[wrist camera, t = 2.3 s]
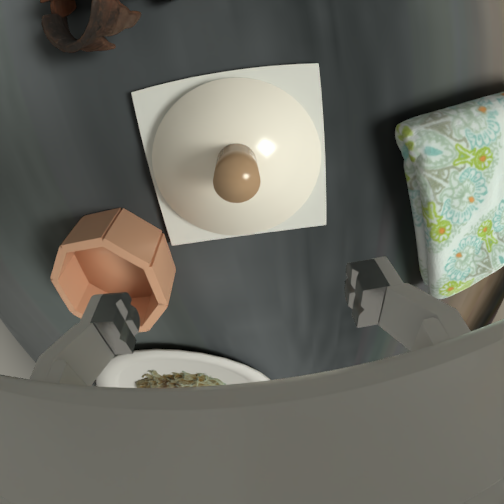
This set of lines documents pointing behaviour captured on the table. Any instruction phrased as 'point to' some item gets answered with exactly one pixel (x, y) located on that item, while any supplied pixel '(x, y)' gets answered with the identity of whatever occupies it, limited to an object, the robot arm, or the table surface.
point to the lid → (236, 156)
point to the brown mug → (100, 24)
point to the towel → (456, 191)
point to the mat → (282, 76)
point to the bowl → (115, 264)
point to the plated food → (174, 370)
